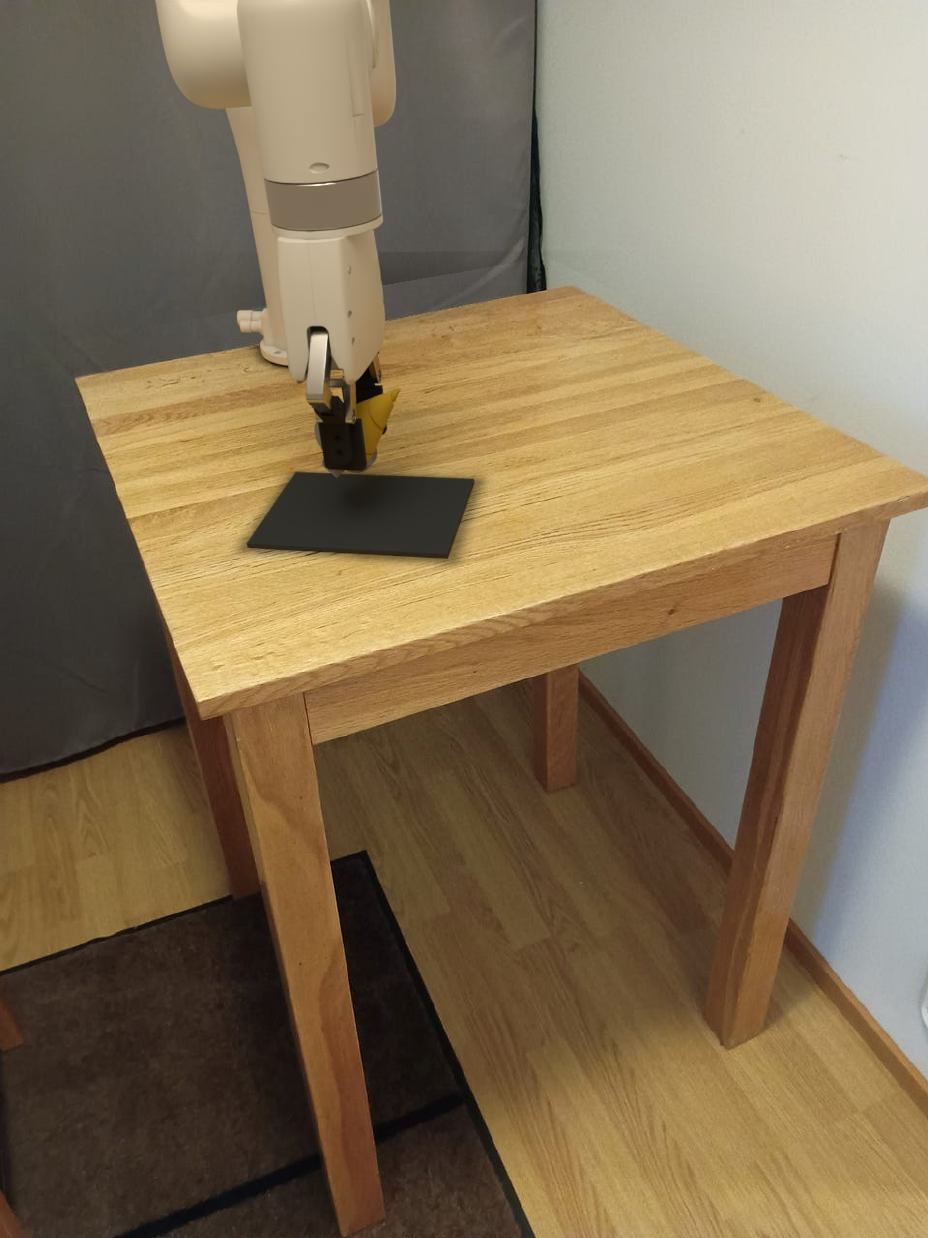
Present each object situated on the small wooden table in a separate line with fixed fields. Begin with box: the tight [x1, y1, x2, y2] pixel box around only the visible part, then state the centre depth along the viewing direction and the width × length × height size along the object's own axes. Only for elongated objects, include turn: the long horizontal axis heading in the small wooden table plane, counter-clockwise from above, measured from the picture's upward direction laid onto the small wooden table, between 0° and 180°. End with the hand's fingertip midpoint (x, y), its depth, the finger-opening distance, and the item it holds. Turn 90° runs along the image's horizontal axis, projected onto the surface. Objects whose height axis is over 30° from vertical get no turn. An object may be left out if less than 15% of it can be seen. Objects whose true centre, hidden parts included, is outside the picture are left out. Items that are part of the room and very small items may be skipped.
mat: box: [246, 471, 475, 559], centre depth 76 cm, size 16×12×1 cm
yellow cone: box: [313, 387, 401, 478], centre depth 71 cm, size 5×5×10 cm
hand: (357, 447), depth 72 cm, fingers closed on yellow cone, 5 cm apart
